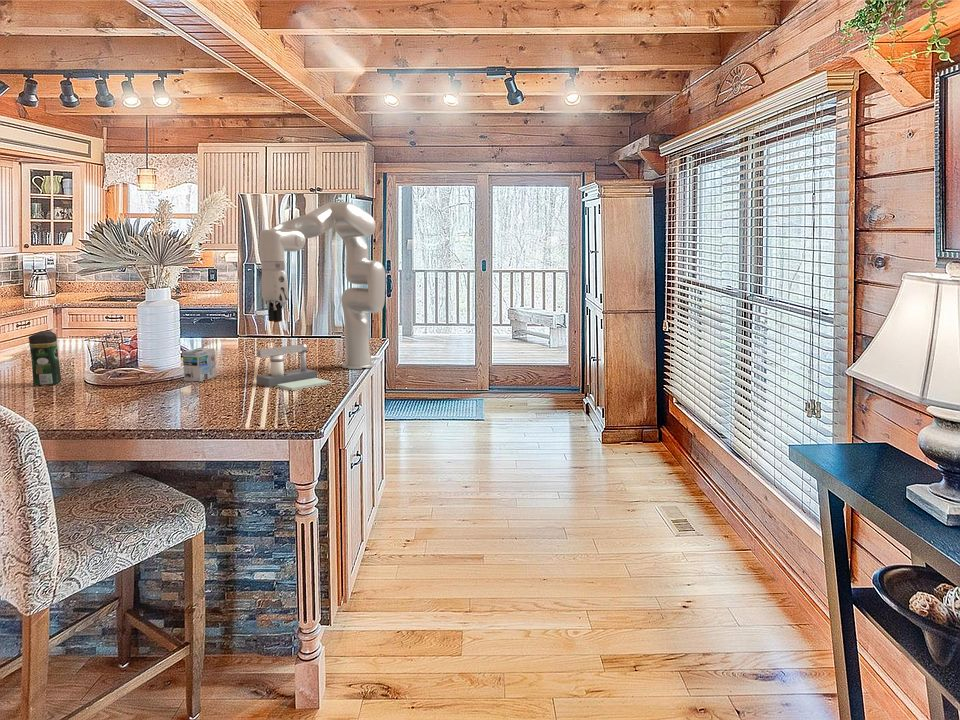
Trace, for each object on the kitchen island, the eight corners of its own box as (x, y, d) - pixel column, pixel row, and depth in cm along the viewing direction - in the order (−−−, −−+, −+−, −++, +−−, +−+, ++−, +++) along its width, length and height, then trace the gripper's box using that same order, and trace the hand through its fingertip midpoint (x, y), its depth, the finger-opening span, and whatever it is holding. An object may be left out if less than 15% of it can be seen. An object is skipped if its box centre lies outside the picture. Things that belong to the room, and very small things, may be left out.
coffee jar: (38, 381, 256) (33, 330, 252) (63, 380, 258) (58, 329, 255) (30, 387, 246) (24, 333, 243) (56, 386, 249) (51, 333, 245)
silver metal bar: (303, 350, 264) (303, 343, 264) (308, 351, 262) (308, 344, 262) (256, 356, 250) (256, 349, 249) (261, 357, 248) (260, 350, 248)
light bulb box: (200, 382, 257) (198, 352, 255) (183, 381, 258) (181, 351, 256) (217, 376, 267) (215, 348, 265) (200, 375, 268) (198, 347, 267)
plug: (279, 381, 259) (278, 354, 257) (286, 383, 256) (285, 355, 254) (268, 383, 256) (267, 355, 254) (275, 385, 253) (274, 356, 251)
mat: (315, 380, 261) (315, 377, 261) (331, 384, 255) (330, 381, 255) (277, 387, 249) (277, 384, 249) (292, 391, 243) (292, 388, 243)
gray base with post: (304, 376, 269) (303, 349, 267) (317, 379, 264) (316, 351, 262) (256, 384, 254) (255, 355, 252) (269, 387, 249) (267, 358, 247)
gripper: (296, 267, 239) (298, 322, 242) (269, 265, 250) (272, 318, 253) (276, 268, 234) (278, 324, 237) (250, 266, 244) (252, 320, 247)
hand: (275, 320), depth 245 cm, fingers closed
